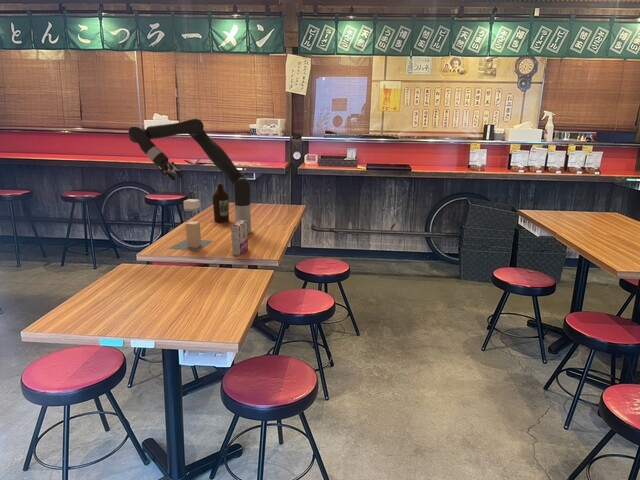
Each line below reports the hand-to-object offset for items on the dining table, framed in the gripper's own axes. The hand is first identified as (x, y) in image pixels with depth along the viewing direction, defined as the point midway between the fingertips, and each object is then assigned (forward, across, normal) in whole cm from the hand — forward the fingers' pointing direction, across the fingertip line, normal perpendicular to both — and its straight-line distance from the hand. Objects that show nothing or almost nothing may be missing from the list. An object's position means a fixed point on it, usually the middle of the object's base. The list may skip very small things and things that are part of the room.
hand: (178, 178), depth 263 cm
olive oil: (+26, +52, +26) cm, 64 cm away
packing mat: (+31, -6, +20) cm, 37 cm away
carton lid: (+18, -8, +3) cm, 20 cm away
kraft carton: (+32, -8, +18) cm, 37 cm away
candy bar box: (+52, -10, 0) cm, 53 cm away
